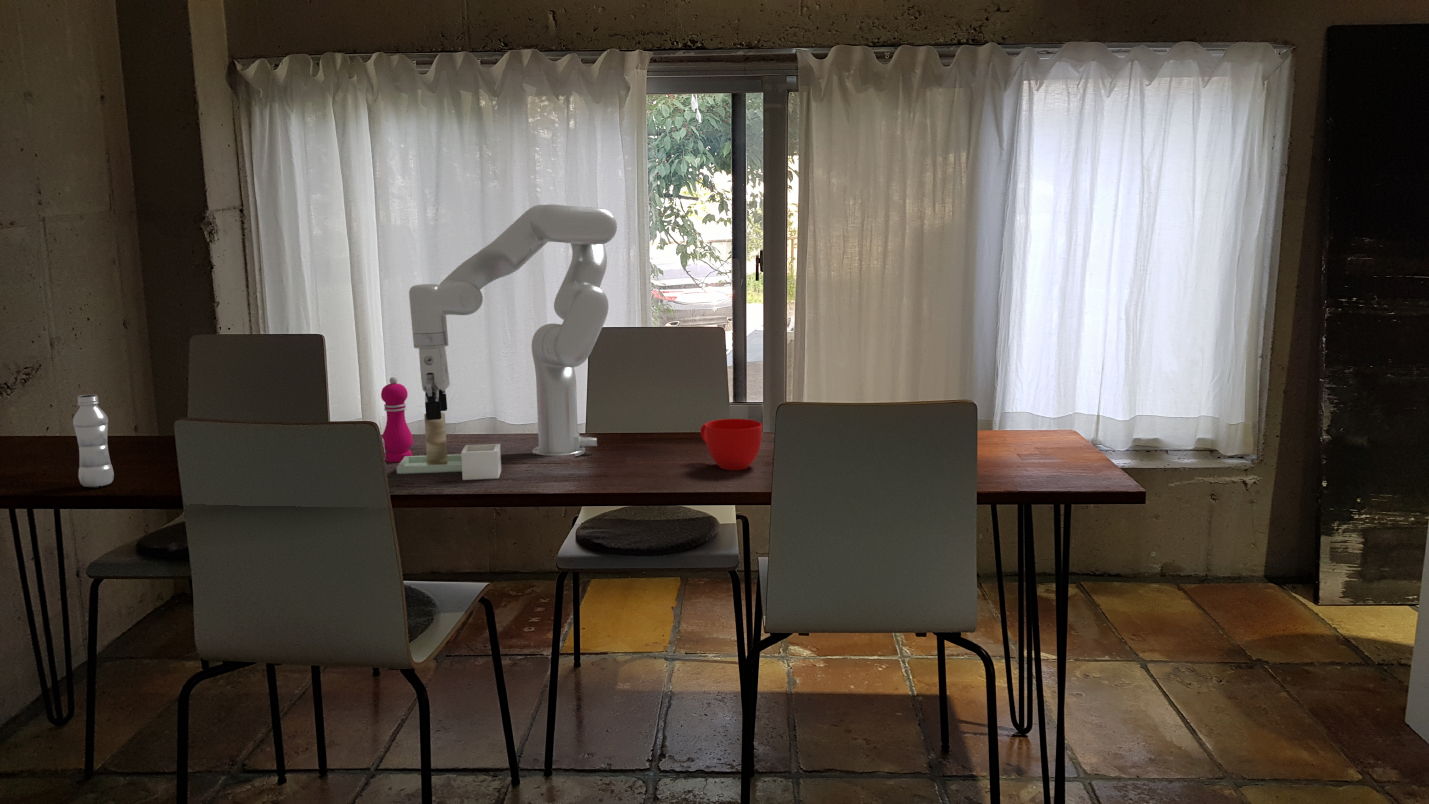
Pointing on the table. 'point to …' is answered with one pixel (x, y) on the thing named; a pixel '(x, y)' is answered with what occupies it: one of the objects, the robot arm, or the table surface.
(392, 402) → the pepper mill
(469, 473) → the box
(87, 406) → the plastic bottle
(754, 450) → the ceramic cup
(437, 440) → the beige ringed cylinder
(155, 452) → the table surface
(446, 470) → the tray
